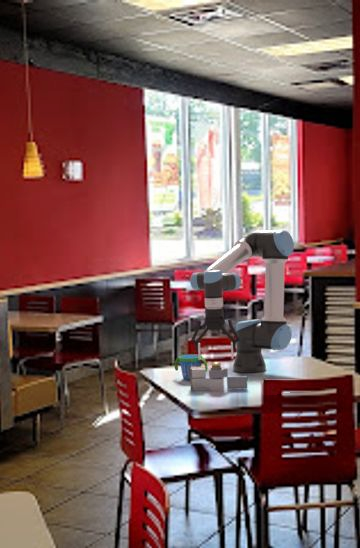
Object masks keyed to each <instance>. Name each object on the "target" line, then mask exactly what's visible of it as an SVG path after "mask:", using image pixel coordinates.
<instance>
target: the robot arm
mask: <svg viewBox="0 0 360 548" xmlns="http://www.w3.org/2000/svg"><path fill="white" fill-rule="evenodd" d="M294 249H295V244H294V239H293V237H292V235H291V233H290V232H289V231H287V230H284V229H267V230H266V229H265V230H262V229H261V230H260V229H259V230H255V231H251V232H249V233H247V234H246V235H244V236H242V237H241V238H240V239H238V240H237V241H236V242H234V245H233V247H232V248H231V249H229V250H228V251H227V252H225V253H224V254H223V255H221V256H220V257H218V259H217V260H215V261H214V262H213V263H211V264H210V265H209V266H208V267H207V268H205V269H204V270H202V271H201V272H199V271H198V272H193V273H192V274H191V276H190V279H189V283H190V286H191V288H192V289H193V290H197V291H204V307H205V309H204V312H205V315H204V318H205V319H204V320H202V319H198V320H197V326H196V328H195V331H194V333H193V335H192V337H191V339H190V342H191V343H193V344H194V346H195V350H194V351H195V352H198V354H197V355H198V357H199V360H200V359H201V343H200V341H201V340H202V339H203V337H204V336H205V335H206V334H207V332H208V331H212V332H214V331H220V330H221V331H222V332H223V333H224V334H225V336H226V337H228V339H229V340H230V341H231V342H230V349H231V351H230V352H231V353H230V354H231V356H230V357H231V358H230V359H231V360H234V361H233V364H232V370H233V371H234V372H236V373H246V374H247V373H258V372H260V373H261V372H264V371H266V370H267V367H266V366H267V364H266V362H265V359H264V356H263V352H262V350H263V349H264V350H271V351H283V350H285V349H286V348H287V347H288V345H290V343H291V340H292V336H293V334H292V333H293V332H292V328H291V326H290V325H289V324H288V323H287V322H288V321H287V319H286V317H284V306H285V266H286V263H287V262H288V261H289V256H292V255H293V252H294ZM255 256H256V257H257V256H260V257H261V256H262V261H263V262H264V263H265V268H264V269H265V270H264V271H265V275H264V278H265V279H264V315H263V317H261V319H260V318H259V319H249V320H247V319H246V320H242V321H238V322H237V323H236V324H235V327H234V326H233V324H232V319H231V318H227V319H225V318H224V308H223V307H224V298H223V295H224V292H233V291H236V290H238V289H239V288H240V287H241V284H242V279H241V277H240V275H239V274H238V273H237V272H231V271H232V270H234V269H235V268H236V267H237V266H238V265H240V264H241V263H242V262H244V261H246V260H249V259H250V258H252V257H255ZM225 323H226V325H228V326H229V328H230V330H231V331H232V333H233V336H232V335H231V333H230V332H229V331H228V330H227V329H226V328H225V327H224V325H225ZM203 325H205V326H206V327H205V328H204V330H203V331H202V333H200V335H199V336H198V337H197V335H198V333H199V331H200V329H201V326H203ZM196 337H197V338H196ZM234 337H235V338H234ZM234 351H235V352H236V353H235V354H236V355H235V358H234Z"/></svg>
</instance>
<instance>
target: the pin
mask: <svg viewBox="0 0 360 548" xmlns="http://www.w3.org/2000/svg"><path fill="white" fill-rule="evenodd" d="M221 366H222V365H221V362H217V361H215V362H212V363H211V368H212V370H221ZM216 379H221V378H216Z"/></svg>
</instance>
